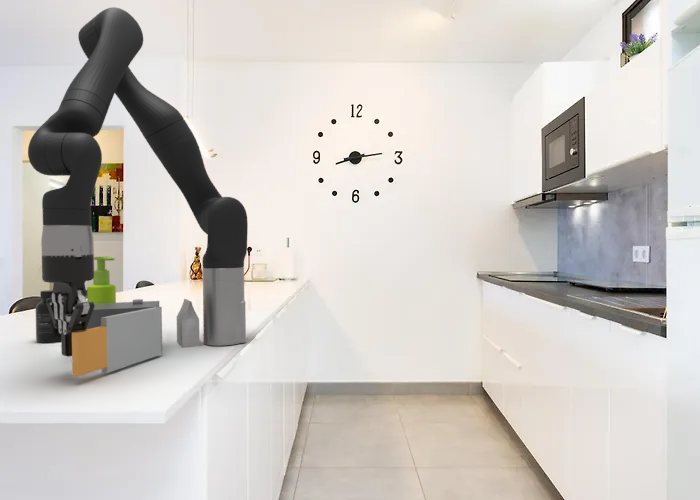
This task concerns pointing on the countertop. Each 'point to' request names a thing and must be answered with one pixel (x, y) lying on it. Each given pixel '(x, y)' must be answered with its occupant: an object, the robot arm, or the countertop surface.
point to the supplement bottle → (45, 321)
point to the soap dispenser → (101, 284)
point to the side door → (118, 341)
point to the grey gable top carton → (187, 326)
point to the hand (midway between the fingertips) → (70, 355)
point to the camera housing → (117, 310)
